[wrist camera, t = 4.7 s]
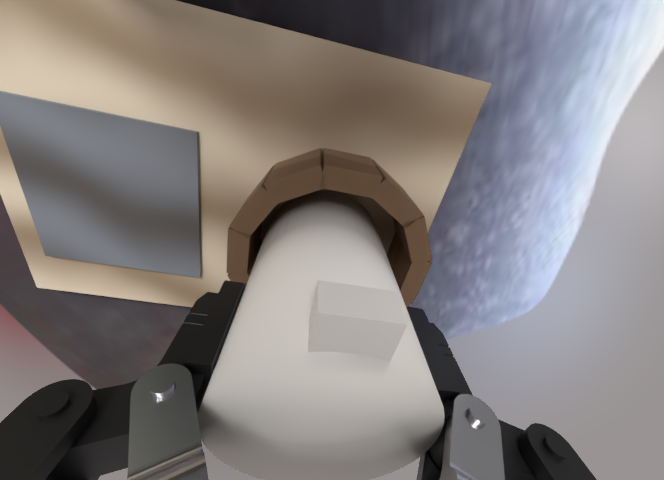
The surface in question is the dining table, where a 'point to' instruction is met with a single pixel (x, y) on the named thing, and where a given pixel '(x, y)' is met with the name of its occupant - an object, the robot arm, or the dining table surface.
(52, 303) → the dining table surface
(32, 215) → the serving board
